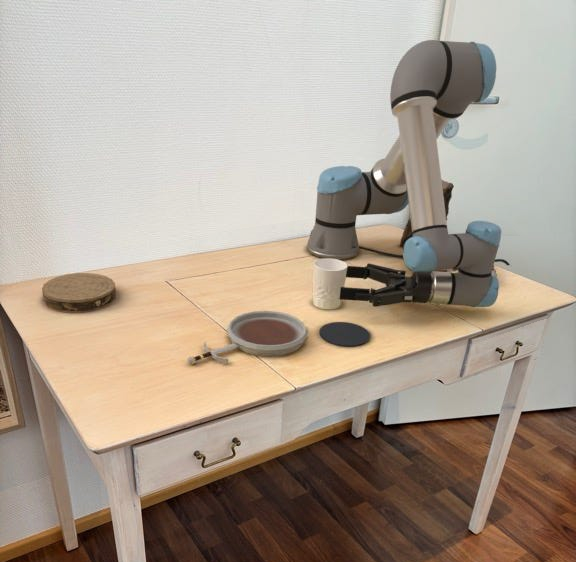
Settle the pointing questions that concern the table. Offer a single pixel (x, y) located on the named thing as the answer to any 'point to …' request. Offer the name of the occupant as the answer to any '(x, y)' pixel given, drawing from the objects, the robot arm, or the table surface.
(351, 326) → the coaster
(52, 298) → the tin can
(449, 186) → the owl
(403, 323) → the table surface
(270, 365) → the table surface
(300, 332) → the frying pan
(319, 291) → the white cup
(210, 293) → the table surface
